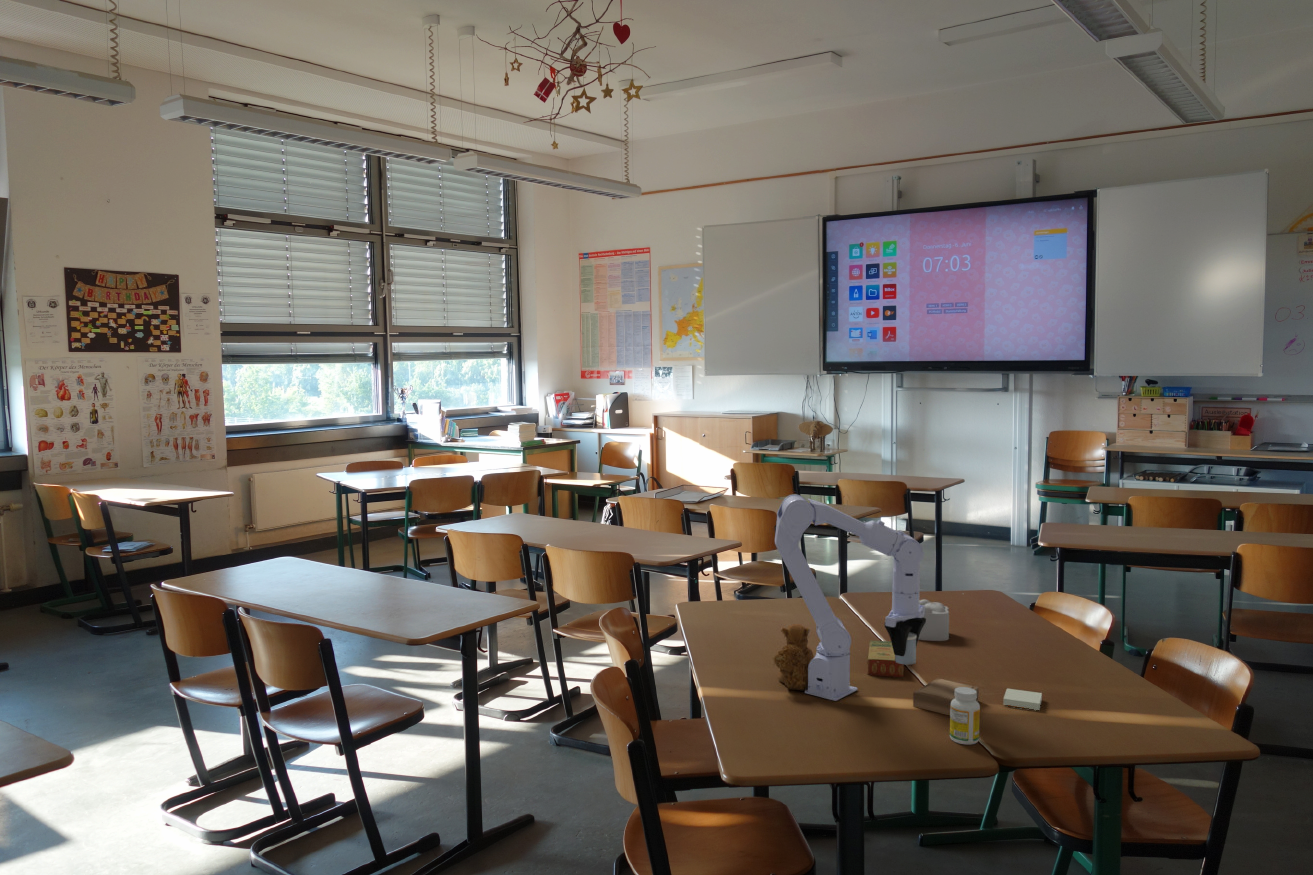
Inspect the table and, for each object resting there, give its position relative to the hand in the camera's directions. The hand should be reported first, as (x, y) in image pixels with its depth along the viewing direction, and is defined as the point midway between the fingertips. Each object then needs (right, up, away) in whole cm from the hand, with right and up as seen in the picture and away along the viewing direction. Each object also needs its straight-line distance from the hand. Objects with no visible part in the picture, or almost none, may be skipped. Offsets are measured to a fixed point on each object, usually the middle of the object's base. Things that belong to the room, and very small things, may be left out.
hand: (904, 652), depth 203 cm
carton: (0, -8, +19) cm, 21 cm away
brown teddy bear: (-23, -9, +6) cm, 25 cm away
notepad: (+23, -10, -7) cm, 26 cm away
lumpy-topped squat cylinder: (+17, -6, +45) cm, 48 cm away
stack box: (+7, -9, -7) cm, 13 cm away
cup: (0, -2, 0) cm, 2 cm away
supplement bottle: (+4, -11, -26) cm, 28 cm away
